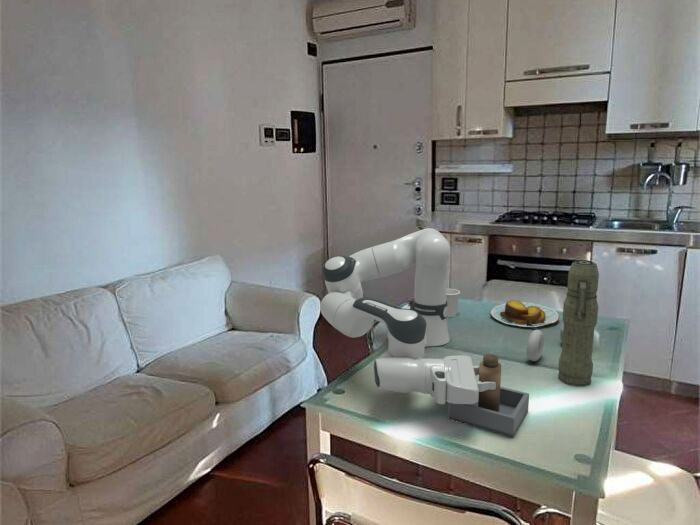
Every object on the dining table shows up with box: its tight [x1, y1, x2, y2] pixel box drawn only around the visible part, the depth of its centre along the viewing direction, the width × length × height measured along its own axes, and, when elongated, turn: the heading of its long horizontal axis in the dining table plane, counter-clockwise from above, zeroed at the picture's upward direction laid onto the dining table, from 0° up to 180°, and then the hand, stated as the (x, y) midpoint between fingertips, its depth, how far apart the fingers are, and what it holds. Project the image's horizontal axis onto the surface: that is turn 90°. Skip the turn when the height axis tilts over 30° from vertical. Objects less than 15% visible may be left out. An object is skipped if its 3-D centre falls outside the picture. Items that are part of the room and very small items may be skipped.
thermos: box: [557, 259, 600, 387], centre depth 140 cm, size 9×12×35 cm
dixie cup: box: [446, 288, 461, 318], centre depth 200 cm, size 8×8×10 cm
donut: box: [526, 329, 545, 362], centre depth 156 cm, size 10×4×10 cm, turn 145°
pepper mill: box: [478, 353, 502, 412], centre depth 123 cm, size 5×5×14 cm
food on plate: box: [489, 300, 560, 328], centre depth 195 cm, size 25×25×7 cm
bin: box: [448, 386, 530, 439], centre depth 125 cm, size 16×14×5 cm
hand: (493, 378), depth 123 cm, fingers closed on pepper mill, 5 cm apart
